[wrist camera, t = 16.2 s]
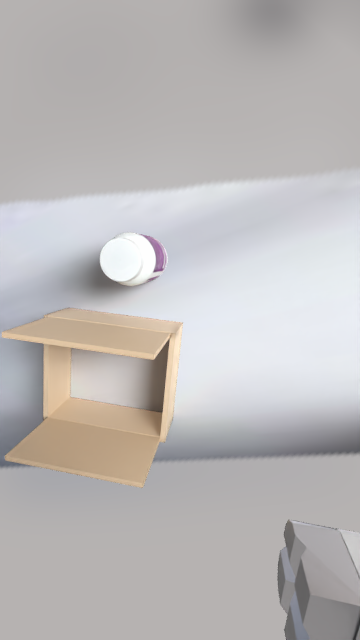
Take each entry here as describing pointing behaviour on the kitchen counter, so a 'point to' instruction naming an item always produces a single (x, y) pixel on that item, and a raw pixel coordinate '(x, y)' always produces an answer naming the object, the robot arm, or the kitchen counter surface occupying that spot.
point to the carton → (90, 416)
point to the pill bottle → (133, 259)
